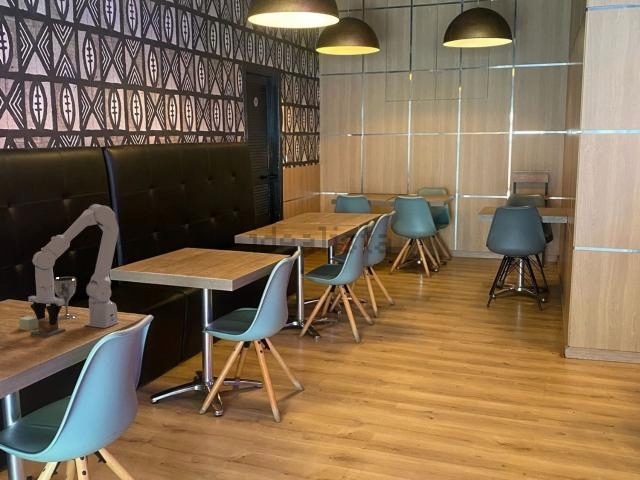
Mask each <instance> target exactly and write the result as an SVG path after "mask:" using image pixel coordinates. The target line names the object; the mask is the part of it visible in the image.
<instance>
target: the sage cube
mask: <svg viewBox="0 0 640 480" xmlns="http://www.w3.org/2000/svg"><path fill="white" fill-rule="evenodd" d="M18 323H19V324H18V325H19V330H23V331H30V332H31V331H34V330H37V329H38V320H37V317H36V315H35V316H34V315H27V316H24V317H20V318H19V319H18Z"/></svg>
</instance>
